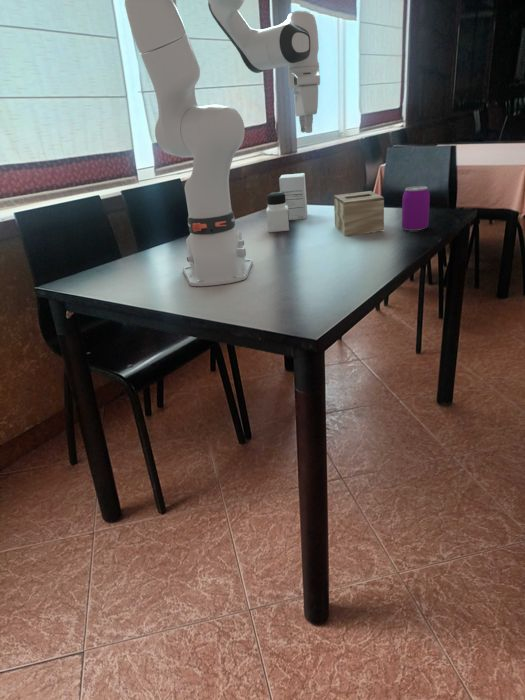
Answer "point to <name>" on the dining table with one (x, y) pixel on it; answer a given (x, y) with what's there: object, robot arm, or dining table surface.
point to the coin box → (359, 213)
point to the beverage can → (415, 208)
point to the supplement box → (294, 195)
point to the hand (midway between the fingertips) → (306, 132)
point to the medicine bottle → (277, 212)
